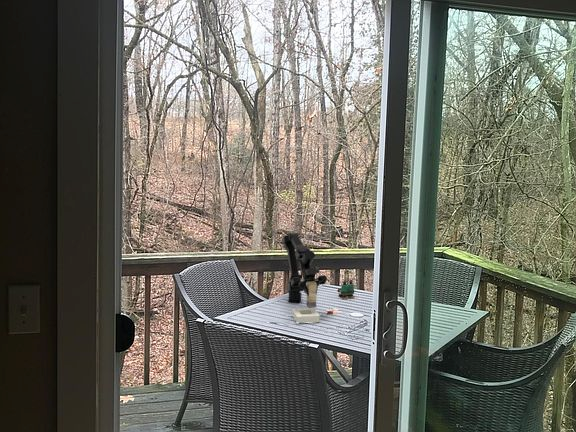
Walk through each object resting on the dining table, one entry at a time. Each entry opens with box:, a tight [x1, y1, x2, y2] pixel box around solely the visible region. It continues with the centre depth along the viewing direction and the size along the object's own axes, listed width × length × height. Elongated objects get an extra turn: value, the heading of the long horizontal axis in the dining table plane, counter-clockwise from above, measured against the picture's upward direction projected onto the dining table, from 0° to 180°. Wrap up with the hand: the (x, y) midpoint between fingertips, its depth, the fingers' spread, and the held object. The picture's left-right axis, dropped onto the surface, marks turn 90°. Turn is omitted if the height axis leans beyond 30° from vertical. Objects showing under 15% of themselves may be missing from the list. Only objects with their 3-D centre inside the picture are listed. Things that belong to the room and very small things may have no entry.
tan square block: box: [305, 281, 318, 309], centre depth 323 cm, size 4×4×13 cm
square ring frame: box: [291, 307, 320, 323], centre depth 324 cm, size 12×12×4 cm
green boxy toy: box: [337, 279, 355, 300], centre depth 361 cm, size 9×11×10 cm
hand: (312, 295), depth 321 cm, fingers closed on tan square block, 4 cm apart
